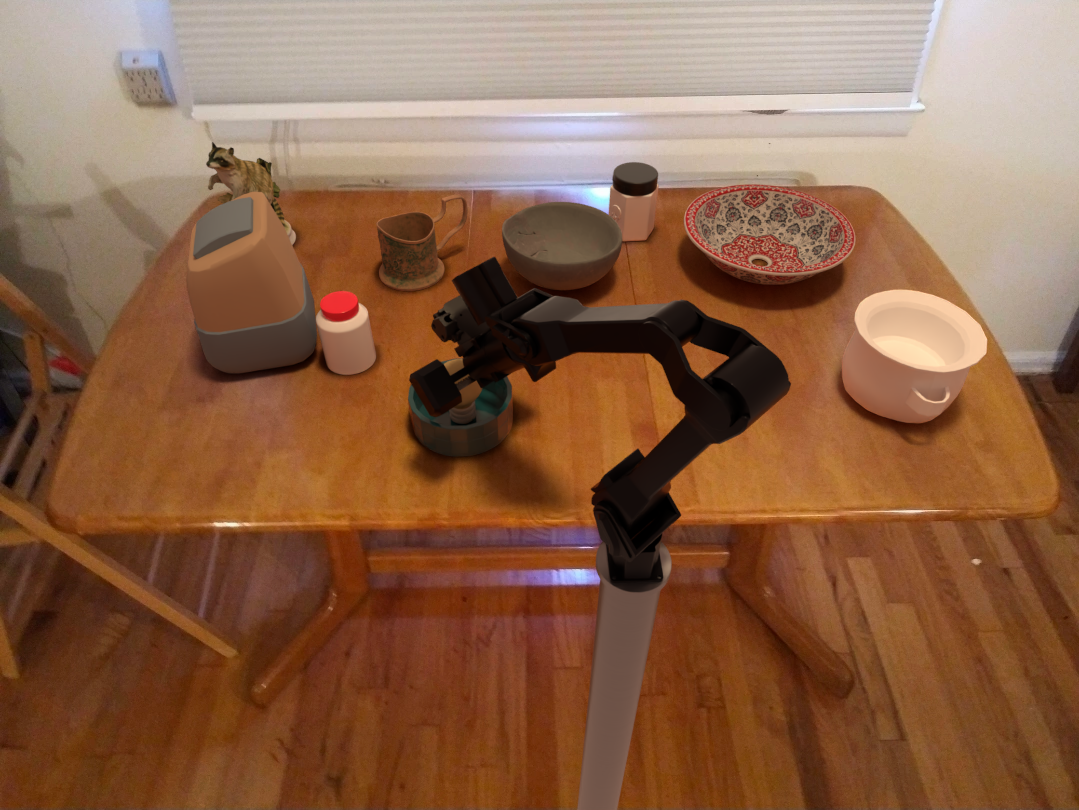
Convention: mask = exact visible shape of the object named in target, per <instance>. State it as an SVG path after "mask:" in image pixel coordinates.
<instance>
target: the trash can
mask: <svg viewBox="0 0 1079 810" xmlns="http://www.w3.org/2000/svg"><path fill="white" fill-rule="evenodd" d="M189 241H190V242H189V251H188V258H187V259H188V260H187V267H186V275H185V285H186V291H187V296H188V300H189V305H190V308H191V311H192V314H193V318H194V319H193V324H194V326H195V330H196V333H197V336H198V339H199V342H200V345H201V349H202V352H203V354H204V357H205V360H206V361H207V362H208V364H210V365H211V366H212V367H213V368H214V369H216V370H218V371H220V372H223V373H226V374H244V373H245V374H246V373H250V372H256V371H264V370H269V369H275V368H282V367H288V366H293V365H296V364H298V363H303V362H305V360H306V359H308V358H309V357H310V356H311V355H313V353H314V351H315V349H316V346H317V340H318V328H317V324H316V308H315V307H316V306H315V299H314V296H313V293H312V290H311V285H310V283H309V280H308V277H307V273H306V271H305V268H304V267H303V264H302V263H301V262H300V260H299V258H298V255H297V252H296V250H295V248H294V245H292V244H291V241H290V239H289V237H288V235H287V232H286V230H285V228H284V226H283V224H282V223H281V221H280V219H279V218H278V216H277V215H276V213H275V211H274V210H273V208H272V206H271V205H270V203H269V201H268V200H267V198H266V197H265V195H264V194H263V193H262V192H250V193H247V194H244V195H241V196H239V197H237V198H235V199H233V200H231V201H229V202H226V203H224V204H223V203H221V204H219V205H217V206H216V207H214V208H212V209H210V210H209V211H208V212H206V213H205V214H203V215H202V217H200V218H199V219H198V220H197V221H196V222H195V224H194V226H193V228H192V230H191V234H190V240H189Z"/></svg>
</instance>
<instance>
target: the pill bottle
mask: <svg viewBox="0 0 1079 810" xmlns="http://www.w3.org/2000/svg"><path fill="white" fill-rule="evenodd" d="M319 307H320V309H319V311H318V312H317V313H316V315H315V317H316V329H317V333H318V335H319V340H320V343H321V346H322V352H323V356H324V359H325V364H326V366H327V368H328V369H329V370H330V371H331V372H333V373H335V374H338V375H344V376H350V375H356V374H360V373H363V372H365V371H367V370H368V369H369V368H371V367H372V366H373V365H374V364H375V362H376V360H377V351H376V346H375V341H374V335H373V331H372V326H371V320H370V314H369V310H368V309H367V307H366V306H365V304H364V305H363V304H362V303H360V302H359V298H358V296H357V295H356V294H354V292H351V291H348V290H338V291H333V292H329V293H328V294H326V295H325V296H323V297H322V298H321V300H320V302H319Z"/></svg>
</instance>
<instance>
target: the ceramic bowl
mask: <svg viewBox="0 0 1079 810" xmlns="http://www.w3.org/2000/svg"><path fill="white" fill-rule="evenodd" d="M683 226H684V230H685V234H686V235H687V237H688V238H689V240H690V241H691V242H692V243H693V244H694V246H696V247H697V248H698V249H699V250H700V251H701V253H703V254H704V256H705V257H706V258H707V259H708V260H709V261H710V262H711V263H712V264H713V265H715V267H717V268H718V269H719V270H721V271H722V272H724V273H726V274H728V275H730V276H732V277H734V278H736V279H739V280H741V281H745V282H748V283H751V284H752V283H753V284H758V285H766V286H767V285H768V286H773V285H774V286H778V285H780V286H781V285H790V284H794V283H798V282H801V281H805V280H808V279H810V278H812V277H814V276H816V275H818V274H820V273H822V272H826V271H829V270H831V269H833V268H835V267H837V266H839V265H840V264H842V263H843V262H845V261H846V260H847V259H848V258H849V256H850V255H851V254H852V252H853V251H854V248H855V245H856V232H855V229H854V227H853V225H852V224H851V222H850V221H849V219H848V218H847V217H846V216H845V215H844V213H842V212H841V211H840V210H838V208H836V207H835V206H833V205H832V204H830V203H829V202H826V201H825V200H823V199H820V198H818V197H817V196H814V195H812V194H809V193H806V192H804V191H801V190H797V189H793V188H788V187H783V186H778V185H771V184H755V183H754V184H753V183H752V184H751V183H748V184H747V183H745V184H734V185H727V186H723V187H718V188H714V189H712V190H710V191H707V192H705V193H703V194H701V195H700V196H698V197H696V198H695V199H694V200H693V201H692V202H691V203H690V204H689V205H688V207H687V208H686V210H685V213H684V216H683ZM755 260H762V261H764V262H766V263H767V265H765V266H764V265H759V264H754V263H753V262H752V261H755Z"/></svg>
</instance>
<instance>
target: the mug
mask: <svg viewBox="0 0 1079 810" xmlns="http://www.w3.org/2000/svg"><path fill="white" fill-rule="evenodd" d="M454 200H461V202H462V215H461V220H460V221H459V223H458V224H457V225H456V226H455V227H454V228H452V229H451V230H450V231H448V232H447V233H446V235H445V236H444V237H443V238H442V240H441V241H440V242H439V243H438V244H437V238H436V237H437V236H436V229H435V226H436V225H435V223H437V222H440V221H441V220H442V219H443V217H444V216H445V215H446V209H447V202H451V201H454ZM440 202H441V208H440V211H439V213H438V214H437V215H436V216H435V217H432V216H431V215H430V214H427V213H425V212H422V211H408V212H404V213H403V212H402V213H399V214H395V215H390V216H386V217H383V218H380V219H379V220H377V222H376V223H375V225H376V230H377V239H378V242H379V249H380V256H381V261H382V264H381V265H380V266H379V269H378V276H379V279H380V281H381V282H382V284H383V285H385V286H386V287H388V288H389V289H393V290H396V291H402V292H415V291H420V290H421V291H422V290H425V289H428V288H430V287H433V286H434V285H436V284H437V283H438V282H440V281H441V279H443V277H444V275H445V265H444V262H443V260H441V259H440V258H439V257H438V252H439V251H441V250H442V249H443V248H444V247H445V246H446V244H447V243H448V242H449V240H450V239H451V238H452V237H453V236H455V234H457V233H458V232H459V231H461V230H462V229H463V227H464V226H465V224H466V223H467V219H468V202H467V200H466V199H465V197H463V196H462V195H460V194H451V195H447V196H444V197H442V198H441V199H440Z"/></svg>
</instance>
